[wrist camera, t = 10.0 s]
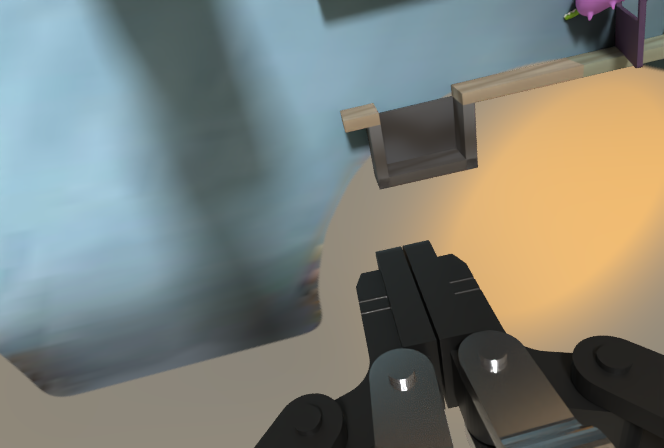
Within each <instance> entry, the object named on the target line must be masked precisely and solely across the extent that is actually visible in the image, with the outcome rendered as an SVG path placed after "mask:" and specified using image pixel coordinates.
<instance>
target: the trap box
mask: <svg viewBox="0 0 664 448" xmlns="http://www.w3.org/2000/svg"><path fill="white" fill-rule="evenodd" d="M660 59H664V34H663V35H661V36H656V37H652V38H648V39H644V53H643V63H647V62H651V61H656V60H660ZM630 66H633V65H632V64H631V63H630V61H629V60H628V59H627V58H626V57H625V55H624V54H623V53H622V52H621V51H620V50H619V49H618V48H617V47H616V46H614V47H610V48H605V49H601V50H597V51H593V52H588V53H584V54H580V55H576V56H571V57H567V58H563V59H559V60H554V61H550V62H546V63H542V64H537V65H533V66H529V67H525V68H520V69H516V70H512V71H508V72H503V73H499V74H495V75H491V76H486V77H482V78H478V79H474V80H469V81H465V82H461V83H457V84H452V85H451V90H452V96H450V97H445V98H441V99H437V100H433V101H428V102H424V103H420V104H416V105H411V106H407V107H403V108H398V109H394V110H390V111H386V112H381V113H378V111H377V109H376V107H375V106H374V104H373V103H372V104H367V105H363V106H359V107H355V108H350V109H346V110H342V111H340V113H341V117H342V122H343V125H344V129H345V132H351V131H355V130H359V129H364V128H366V130H367V135H368V141H369V146H370V152H371V158H372V163H373V169H374V174H375V177H376V180H377V183H378V186H379V188H380V189H384V188H389V187H393V186H397V185H402V184H406V183H411V182H415V181H420V180H424V179H428V178H433V177H437V176H442V175H446V174H451V173H455V172H459V171H464V170H468V169H473V168H477V167H478V161H477V140H476V118H475V102H479V101H484V100H488V99H492V98H497V97H501V96H505V95H509V94H513V93H518V92H522V91H526V90H531V89H535V88H540V87H544V86H548V85H552V84H557V83H561V82H565V81H570V80H574V79H578V78H583V77H587V76H591V75H595V74H600V73H604V72H608V71H613V70H617V69H621V68H625V67H630Z"/></svg>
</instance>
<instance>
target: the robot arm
mask: <svg viewBox="0 0 664 448" xmlns="http://www.w3.org/2000/svg"><path fill="white" fill-rule="evenodd" d="M376 258H377V263H378V268H379V270H376V271H371V272H366V273H362V274H361V275H360V278H359V281H358V284H357V286H356V289H357V295H358V300H359V305H360V310H361V316H362V321H363V326H364V331H365V336H366V342H367V347H368V353H369V358H370V366H369V370H368V373H367V375H366V377H365V378H364V380H363V381H362V382H361V383H360V385H359V386H357V387H356V388H355V389H354V390H352V391H350V392H349V393H347V394H345V395H343V396H341V397H339V398H338V399H336V400H333V399H332V398H330V397H329V396H326V395H323V394H307V395H304V396H301V397H298V398H296V399H295V400H293V401H292V402H290V403H289V404H288V405H287V406H286V407H285V408H284V409H283V411H282V412H281V413H280V415H279V416H278V417H277V418H276V420H275V421H274V422H273V424H272V425H271V426H270V428H269V429H268V430H267V432H266V433H265V434H264V435H263V437H262V438H261V439H260V441H259V442H258V443H257V445H256V446H255V447H254V448H453V444H452V439H451V436H450V431H449V427H448V423H447V419H446V415H445V411H444V409H445V402H444V398H445V401H446V404H447V406H448V408H452V407H457V406H459V408H460V411H461V413H462V416H463V418H464V422H465V432H466V437H467V440H468V442H469V444H470V447H471V448H664V355H662V354H659V353H657V352H655V351H652V350H650V349H647V348H645V347H642V346H640V345H637V344H634V343H632V342H630V341H627V340H624V339H621V338H617V337H613V336H612V337H611V336H593V337H590V338H587V339H584V340H582V341H581V342H579V343H578V344H577V345H576V347H575V349H574V351H573V353H563V352H547V351H539V350H534V349H531V348H528V347H525V346H523V345H522V343H521V342H520V341H518V340H517V339H516V338H514V337H513V336H511V335H509V334H507V333H506V332H505V331H504V329H503V327H502V326H501V324H500V322H499V321H498V319H497V317H496V315H495V314H494V312H493V310H492V308H491V306H490V305H489V303H488V301H487V300H486V298H485V296H484V294H483V292H482V291H481V290H480V288H479V285H478V284H477V282H476V280H475V279H474V277H473V275H472V273H471V271H470V270H469V268H468V266H467V264H466V263H465V262H463V261H462V260H460V259H459V258H458V257H456V256H455V255H453V254H448V255H444V256H439V257H437V256H436V253H435V252H434V249H433V247H432V245H431V243H430V242H429V240H427V241H422V242H418V243H413V244H409V245H405V246H403V250H402V247H396V248H391V249H387V250H383V251H378V252H376Z"/></svg>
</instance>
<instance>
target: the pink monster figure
mask: <svg viewBox="0 0 664 448" xmlns="http://www.w3.org/2000/svg"><path fill="white" fill-rule="evenodd" d="M622 1H624V0H576V8H577V9H574V10H573V11H571V13H570V12H569V13H568V15H567V14H566V15H565V16H564V17H565V20H568V19H571V18H573V17H575V16H577V15H579V14H581V15H583V16H587V17H588V20H589V21H590V20H591V18H592V16H593V15H595V14H597V13H600V12H601V11H603V10H605V9H607V8H609V7H611V8H612V9H613V10H614V8H615V4H616V26H615V46H616V47H617V48H618V49H619V50H620V51H621V52H622V53H623V54H624V55H625V57H626V58H627V59H628V60H629V61H630V63H631V64H632V65H633V66H634V67H635V68H641V67H643V53H644V36H645V18H646V2H647V0H639V2H638V18H637V17H636V16H635V15H633V14H632V13H631V12H629V11H628V10H627V9H625V8H624V7H623V6H622Z"/></svg>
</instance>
